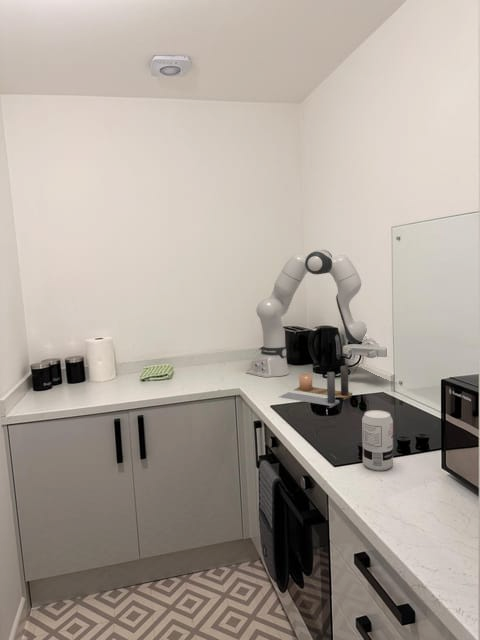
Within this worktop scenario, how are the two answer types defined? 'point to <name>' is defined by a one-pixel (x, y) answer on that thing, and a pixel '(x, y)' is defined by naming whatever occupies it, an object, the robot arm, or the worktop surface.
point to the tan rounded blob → (305, 382)
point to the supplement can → (377, 440)
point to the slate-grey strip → (318, 400)
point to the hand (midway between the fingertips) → (358, 353)
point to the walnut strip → (342, 393)
